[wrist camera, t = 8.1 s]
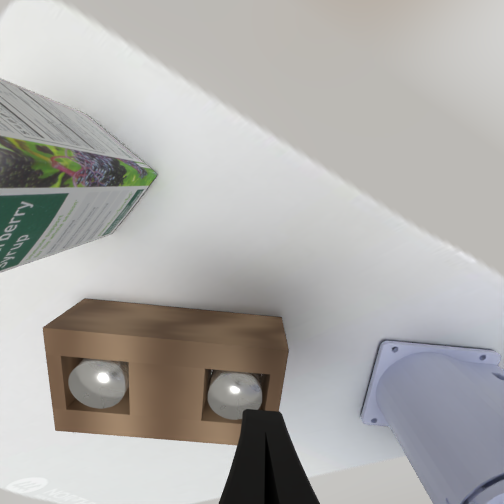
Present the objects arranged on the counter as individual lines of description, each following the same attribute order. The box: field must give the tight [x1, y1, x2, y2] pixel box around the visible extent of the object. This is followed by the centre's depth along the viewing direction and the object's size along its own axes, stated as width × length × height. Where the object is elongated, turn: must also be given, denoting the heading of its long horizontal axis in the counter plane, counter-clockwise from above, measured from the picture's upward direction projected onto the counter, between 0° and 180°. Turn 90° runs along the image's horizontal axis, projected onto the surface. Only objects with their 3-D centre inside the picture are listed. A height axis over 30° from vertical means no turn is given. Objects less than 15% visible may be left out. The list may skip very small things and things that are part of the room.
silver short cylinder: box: [208, 369, 262, 420], centre depth 19 cm, size 4×4×4 cm
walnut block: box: [43, 299, 289, 445], centre depth 19 cm, size 15×8×4 cm, turn 84°
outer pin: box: [68, 358, 129, 409], centre depth 18 cm, size 4×4×4 cm
